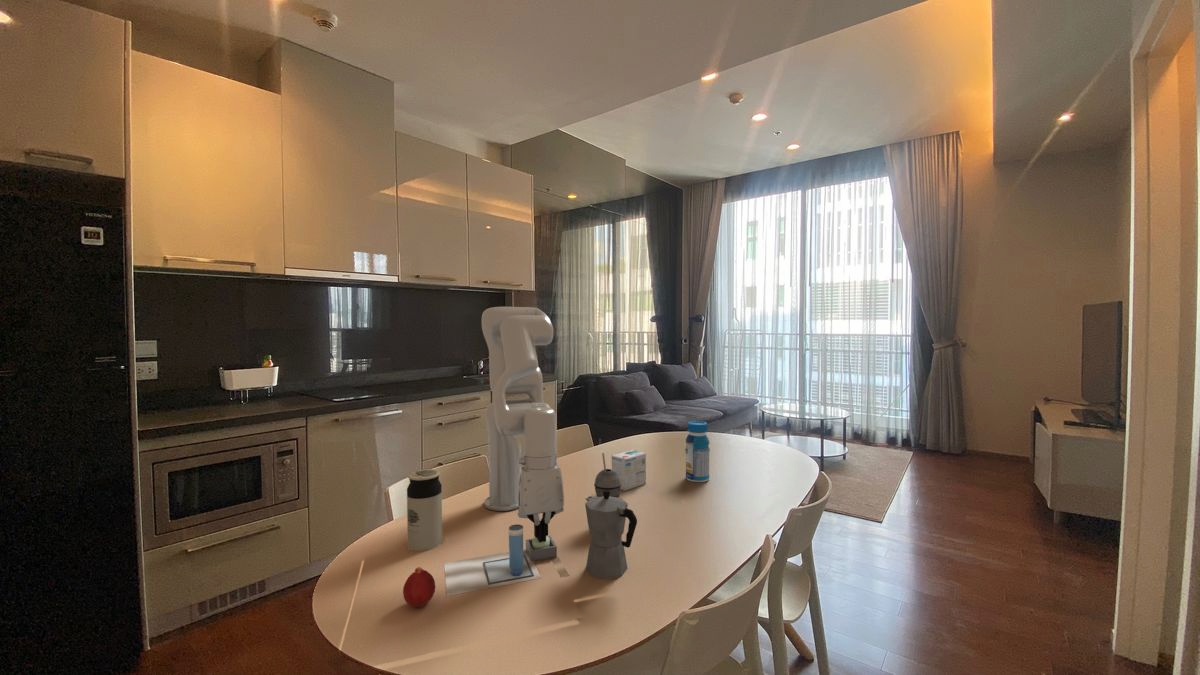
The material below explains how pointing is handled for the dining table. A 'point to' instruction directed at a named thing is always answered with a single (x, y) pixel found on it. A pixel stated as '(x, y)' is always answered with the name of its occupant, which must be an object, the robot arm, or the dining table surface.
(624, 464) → the light bulb box
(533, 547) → the button
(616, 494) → the beverage cup
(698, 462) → the beverage bottle
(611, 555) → the coffeepot
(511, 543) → the marker
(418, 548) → the travel mug
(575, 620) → the dining table surface
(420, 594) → the onion
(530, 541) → the button housing
